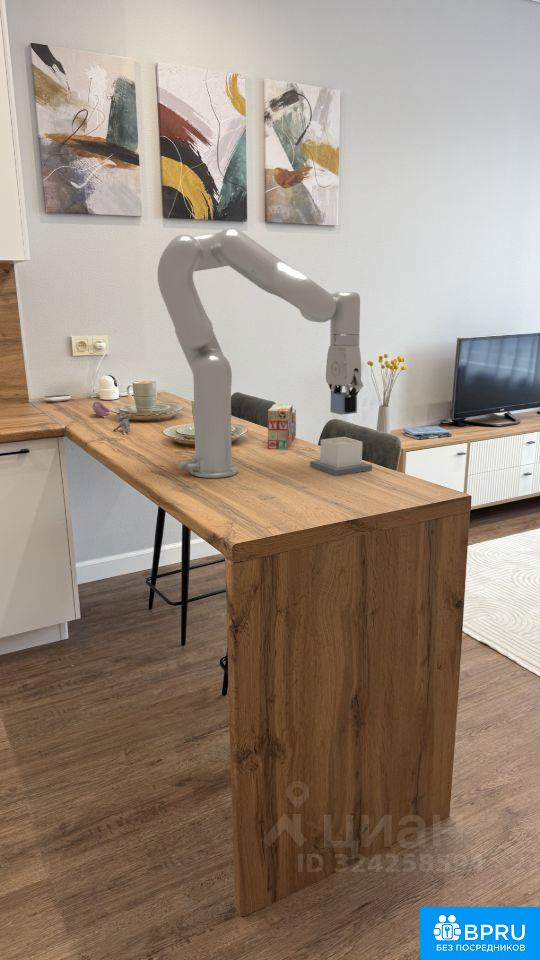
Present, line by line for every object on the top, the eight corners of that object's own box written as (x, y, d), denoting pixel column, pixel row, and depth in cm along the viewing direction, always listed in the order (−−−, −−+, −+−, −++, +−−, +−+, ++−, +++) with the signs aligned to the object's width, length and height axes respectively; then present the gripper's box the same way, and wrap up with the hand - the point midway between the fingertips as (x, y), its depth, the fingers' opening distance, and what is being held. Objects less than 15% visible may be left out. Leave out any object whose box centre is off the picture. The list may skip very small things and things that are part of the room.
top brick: (341, 414, 183) (341, 395, 182) (330, 412, 187) (330, 393, 186) (356, 412, 185) (357, 394, 184) (345, 410, 190) (345, 392, 188)
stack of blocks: (277, 436, 234) (277, 399, 231) (296, 436, 234) (296, 400, 230) (267, 449, 214) (267, 409, 211) (287, 450, 213) (288, 410, 210)
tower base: (335, 475, 182) (336, 447, 180) (309, 466, 192) (310, 439, 190) (371, 470, 188) (373, 442, 186) (345, 461, 198) (345, 434, 196)
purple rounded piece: (101, 418, 276) (91, 402, 274) (111, 412, 276) (102, 397, 274) (98, 422, 267) (88, 406, 265) (108, 417, 267) (99, 400, 265)
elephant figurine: (109, 436, 234) (106, 422, 241) (121, 446, 238) (119, 432, 245) (131, 417, 232) (128, 404, 239) (143, 428, 236) (140, 415, 243)
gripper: (314, 340, 187) (313, 407, 191) (353, 343, 173) (351, 416, 177) (337, 339, 190) (336, 405, 195) (377, 342, 176) (375, 413, 181)
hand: (343, 410), depth 186 cm, fingers closed on top brick, 4 cm apart
